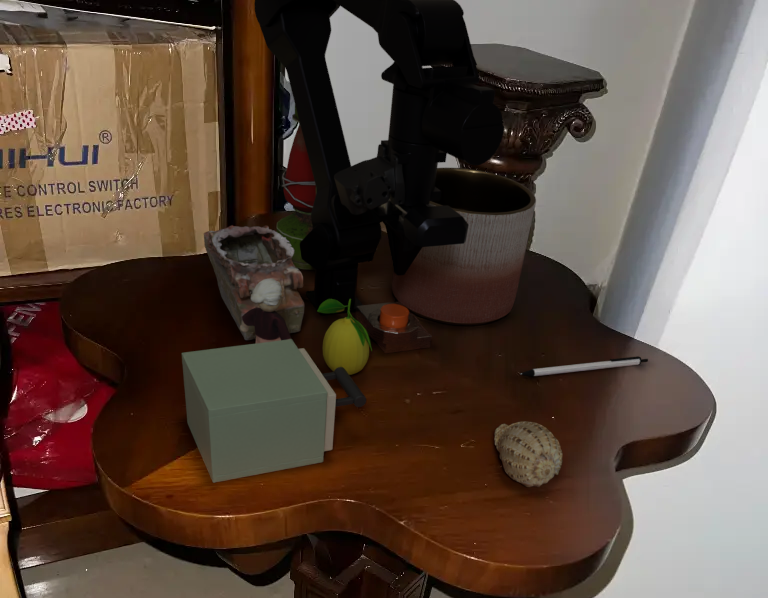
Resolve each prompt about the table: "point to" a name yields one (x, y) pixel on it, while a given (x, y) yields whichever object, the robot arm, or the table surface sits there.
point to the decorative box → (255, 271)
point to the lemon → (344, 340)
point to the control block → (393, 330)
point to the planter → (472, 252)
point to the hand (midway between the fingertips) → (399, 274)
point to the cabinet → (254, 408)
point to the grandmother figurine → (266, 313)
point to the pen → (586, 366)
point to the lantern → (298, 197)
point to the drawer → (349, 387)
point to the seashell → (528, 452)
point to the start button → (394, 316)
